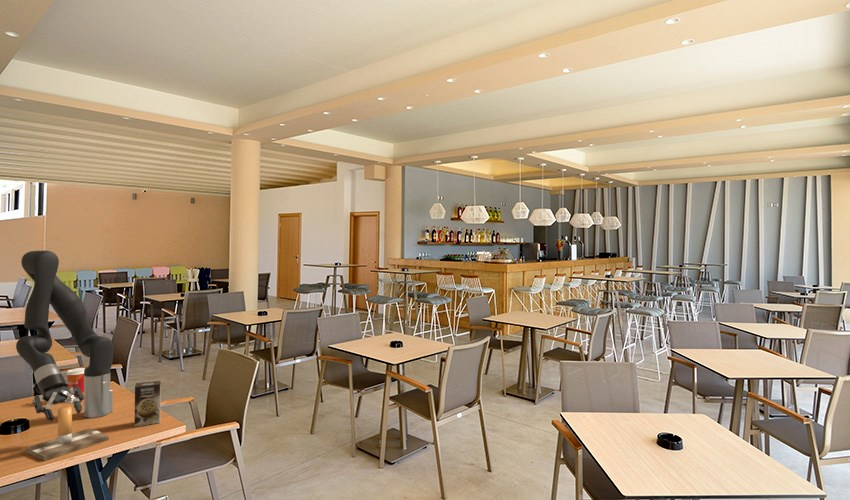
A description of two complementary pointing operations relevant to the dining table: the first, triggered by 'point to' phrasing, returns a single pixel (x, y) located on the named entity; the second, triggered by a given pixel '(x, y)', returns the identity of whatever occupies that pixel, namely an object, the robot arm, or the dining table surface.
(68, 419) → the tan cylinder
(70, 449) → the board
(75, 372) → the paper cup
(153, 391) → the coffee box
